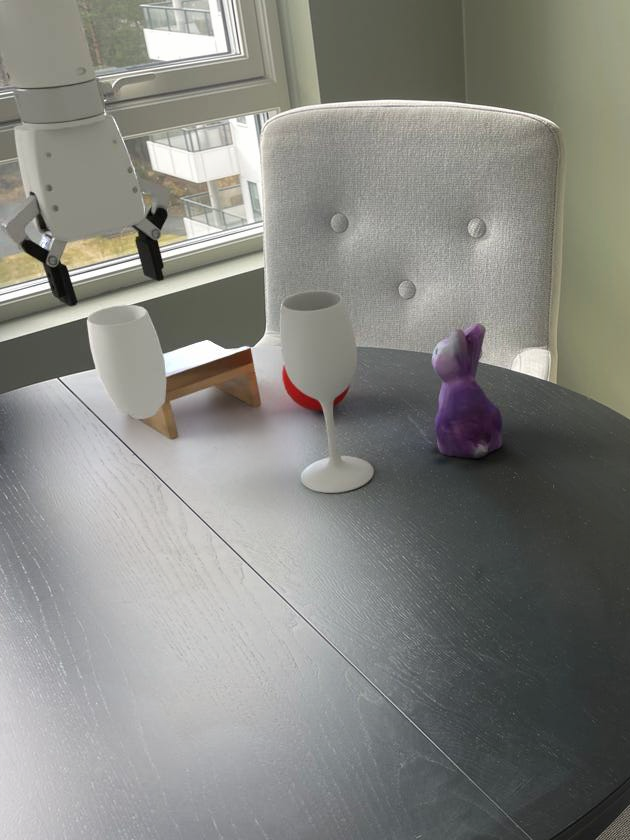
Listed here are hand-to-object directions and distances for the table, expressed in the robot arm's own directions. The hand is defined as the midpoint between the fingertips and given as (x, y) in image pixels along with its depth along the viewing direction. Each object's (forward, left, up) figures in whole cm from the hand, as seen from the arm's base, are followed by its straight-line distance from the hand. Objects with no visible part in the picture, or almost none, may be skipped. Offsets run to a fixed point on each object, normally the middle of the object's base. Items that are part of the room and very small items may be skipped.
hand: (112, 290), depth 101 cm
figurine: (+18, +32, -24) cm, 43 cm away
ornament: (-4, +26, -24) cm, 35 cm away
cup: (0, 0, -24) cm, 24 cm away
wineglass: (+13, +16, -24) cm, 31 cm away
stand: (-17, +14, -23) cm, 32 cm away
